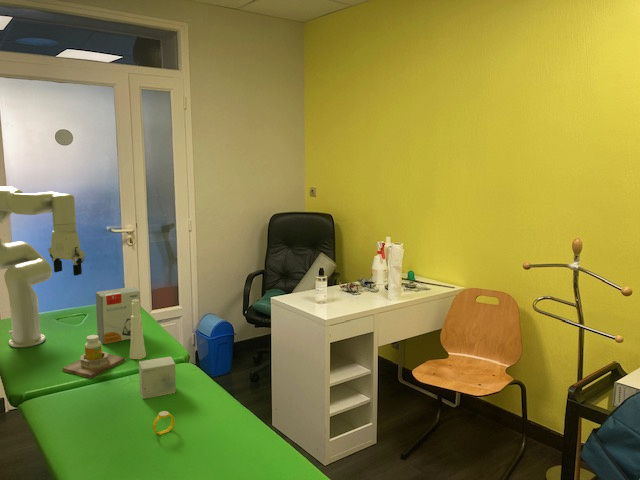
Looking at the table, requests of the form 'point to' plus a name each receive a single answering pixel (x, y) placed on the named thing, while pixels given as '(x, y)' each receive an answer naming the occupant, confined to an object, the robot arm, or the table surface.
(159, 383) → the skincare box
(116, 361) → the walnut board
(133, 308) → the cosmetic bottle
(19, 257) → the robot arm
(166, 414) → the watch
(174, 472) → the table surface
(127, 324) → the hard drive box
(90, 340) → the supplement bottle
